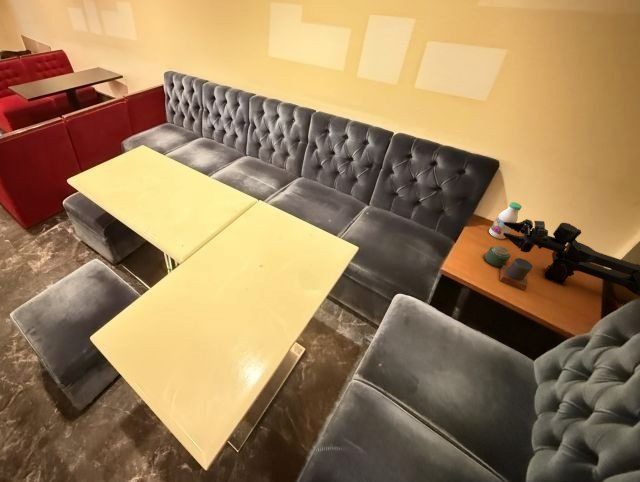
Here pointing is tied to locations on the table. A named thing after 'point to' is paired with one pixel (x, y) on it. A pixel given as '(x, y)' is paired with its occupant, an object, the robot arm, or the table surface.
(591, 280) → the table surface
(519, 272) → the cap
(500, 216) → the milk bottle
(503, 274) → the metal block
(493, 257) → the green cylinder
